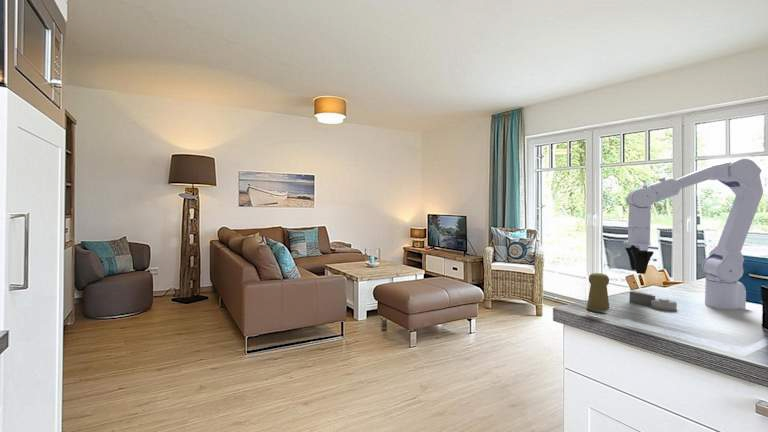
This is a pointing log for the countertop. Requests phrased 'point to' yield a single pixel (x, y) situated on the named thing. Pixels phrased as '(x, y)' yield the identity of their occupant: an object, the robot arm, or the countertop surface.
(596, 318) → the countertop surface
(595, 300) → the cork
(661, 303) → the peg dial
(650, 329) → the countertop surface
